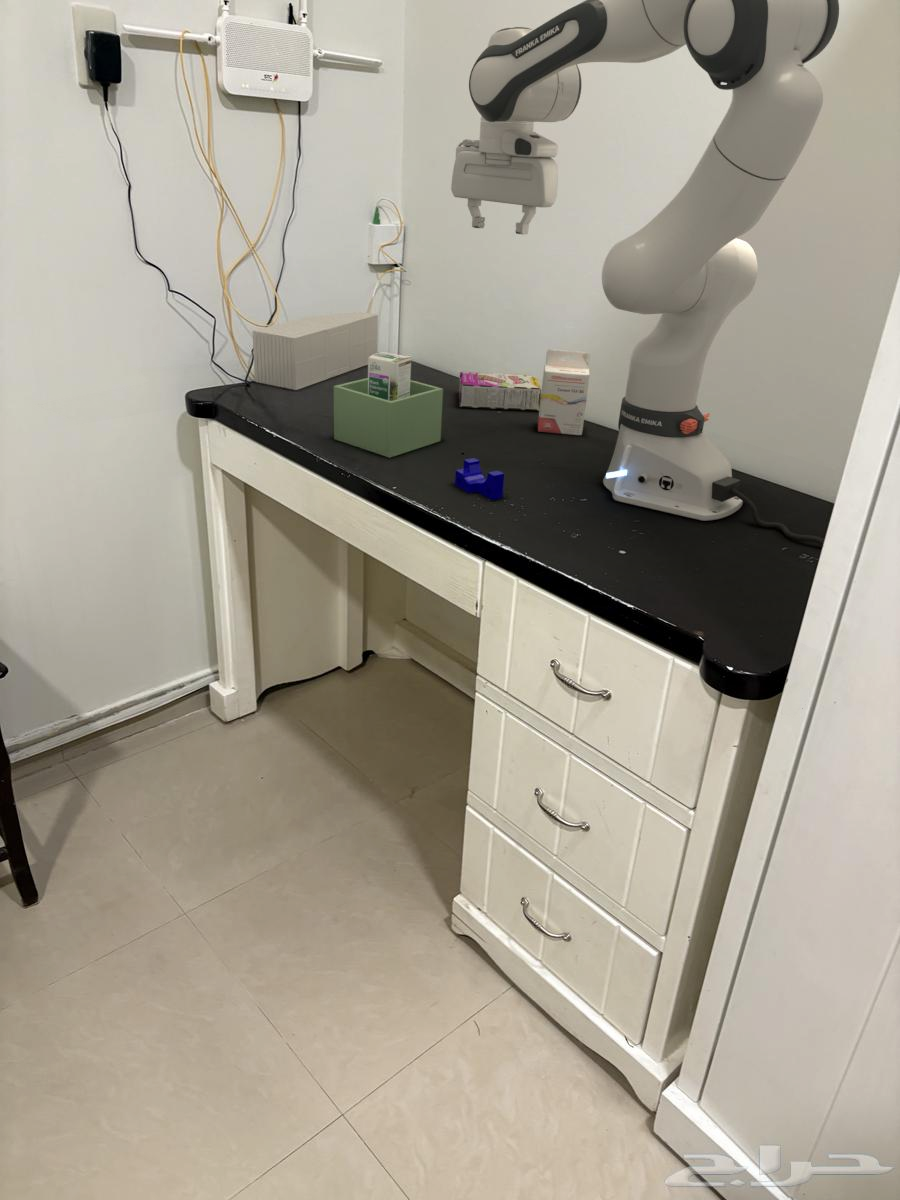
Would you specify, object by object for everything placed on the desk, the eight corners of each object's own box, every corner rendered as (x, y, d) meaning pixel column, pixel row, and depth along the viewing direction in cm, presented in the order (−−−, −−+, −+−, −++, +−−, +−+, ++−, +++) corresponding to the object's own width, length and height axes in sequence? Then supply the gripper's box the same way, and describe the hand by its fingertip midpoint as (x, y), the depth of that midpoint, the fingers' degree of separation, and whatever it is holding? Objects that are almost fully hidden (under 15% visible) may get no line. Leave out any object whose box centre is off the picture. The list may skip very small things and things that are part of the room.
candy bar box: (459, 369, 195) (537, 374, 196) (458, 393, 198) (534, 397, 198) (460, 383, 185) (542, 388, 186) (459, 408, 188) (540, 412, 188)
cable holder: (454, 484, 149) (456, 461, 147) (472, 481, 151) (474, 458, 149) (484, 501, 144) (485, 477, 142) (502, 497, 145) (504, 473, 144)
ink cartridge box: (537, 432, 176) (544, 354, 169) (537, 424, 180) (545, 348, 174) (582, 436, 176) (592, 357, 169) (581, 428, 180) (591, 351, 173)
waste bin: (440, 441, 169) (443, 388, 164) (389, 457, 159) (390, 402, 155) (385, 423, 176) (386, 373, 172) (333, 439, 167) (333, 385, 162)
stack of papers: (294, 338, 188) (252, 330, 192) (296, 390, 193) (254, 381, 197) (378, 314, 214) (338, 308, 218) (377, 361, 219) (339, 354, 223)
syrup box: (365, 437, 166) (366, 356, 159) (382, 429, 171) (384, 350, 164) (393, 444, 164) (395, 361, 157) (409, 435, 169) (412, 355, 162)
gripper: (445, 138, 158) (441, 225, 165) (545, 145, 147) (536, 238, 154) (468, 138, 163) (464, 223, 169) (566, 146, 152) (557, 236, 158)
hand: (499, 230), depth 161 cm, fingers open, 8 cm apart
